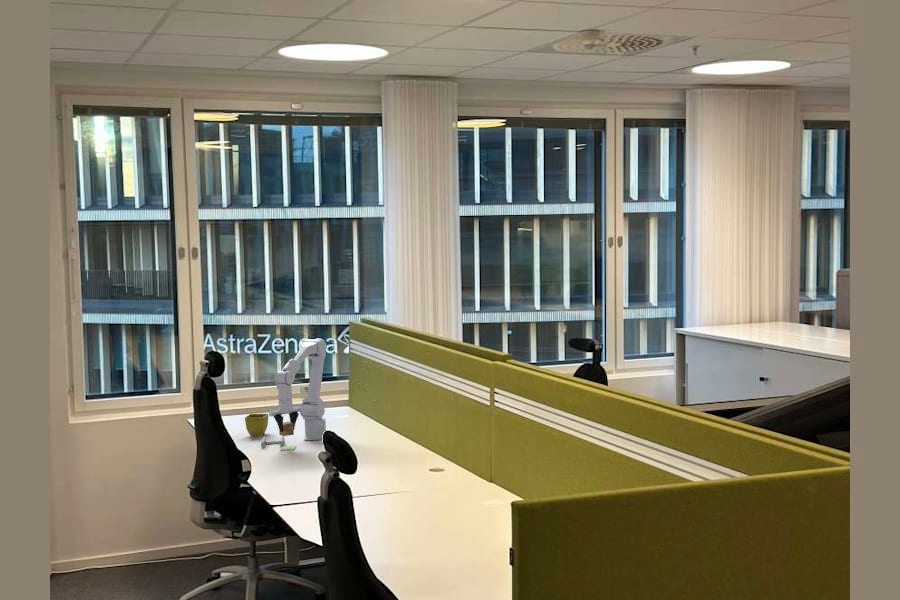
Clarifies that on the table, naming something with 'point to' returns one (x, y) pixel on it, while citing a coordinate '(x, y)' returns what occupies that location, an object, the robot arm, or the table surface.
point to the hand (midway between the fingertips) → (286, 430)
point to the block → (287, 429)
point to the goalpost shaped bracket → (272, 442)
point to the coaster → (287, 448)
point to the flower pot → (256, 424)
